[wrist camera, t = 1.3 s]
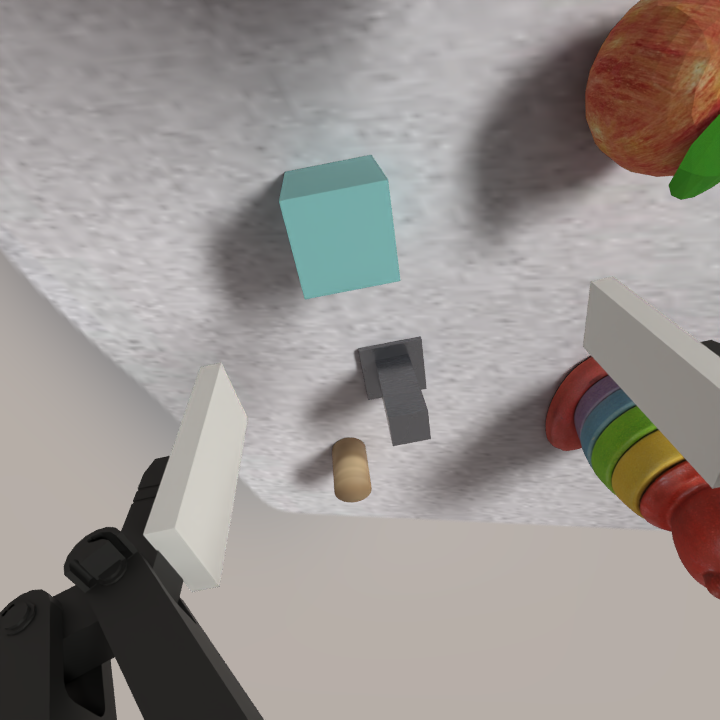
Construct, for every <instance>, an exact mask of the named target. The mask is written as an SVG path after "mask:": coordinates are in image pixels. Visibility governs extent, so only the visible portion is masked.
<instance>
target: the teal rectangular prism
mask: <svg viewBox="0 0 720 720" xmlns="http://www.w3.org/2000/svg"><path fill="white" fill-rule="evenodd" d="M279 203H280V207H281V211H282V215H283V219H284V222H285V226H286V230H287V234H288V238H289V241H290V245H291V249H292V253H293V257H294V260H295V264H296V268H297V272H298V276H299V279H300V283H301V287H302V291H303V295H304V298H305V299H310V298H315V297H320V296H325V295H330V294H336V293H341V292H346V291H351V290H356V289H361V288H366V287H372V286H377V285H382V284H387V283H392V282H397V281H400V274H399V266H398V257H397V249H396V241H395V233H394V225H393V216H392V208H391V200H390V192H389V184H388V179H387V177H386V176H385V174H384V173H383V171H382V170H381V168H380V167H379V165H378V164H377V163H376V161H375V160H374V158H373V157H372V155H368V156H363V157H358V158H353V159H348V160H343V161H338V162H332V163H327V164H322V165H317V166H312V167H307V168H302V169H297V170H292V171H287V172H285V174H284V179H283V184H282V189H281V193H280V198H279Z"/></svg>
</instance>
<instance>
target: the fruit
mask: <svg viewBox="0 0 720 720" xmlns="http://www.w3.org/2000/svg"><path fill="white" fill-rule="evenodd" d="M585 108H586V120H587V123H588V125H589V128H590V131H591V133H592V136H593V139H594V141H595V144H596V145H597V146H598V148H599V149H600V150H601V151H602V152H603V153H604V154H606V155H607V156H608V157H610V158H611V159H612V160H613V161H615V162H616V163H617V164H618V165H620V166H621V167H623V168H625V169H627V170H629V171H630V172H635V173H640V174H645V175H651V176H656V177H660V176H673V178H672V180H671V182H670V183H669V188H670V192H671V195H672V196H674V197H676V198H678V199H680V200H682V199H687V198H692V197H695V196H697V195H699V194H701V193H703V192H704V191H706V190H708V189H710V188H712V187H713V186H715V185H716V184H718V183H719V182H720V0H640V1H639V2H638V3H637V4H636V5H634V6H633V7H632V8H631V9H630V10H629V11H628V12H627V13H626V14H625V15H624V17H623V18H622V19H621V20H620V21H619V22H618V23H617V24H616V26H615V27H614V28H613V29H612V30H611V31H610V33H609V35H608V36H607V38H606V39H605V41H604V43H603V44H602V46H601V48H600V50H599V52H598V54H597V56H596V59H595V61H594V63H593V65H592V67H591V69H590V72H589V77H588V82H587V87H586V91H585Z"/></svg>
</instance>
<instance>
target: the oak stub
mask: <svg viewBox="0 0 720 720" xmlns="http://www.w3.org/2000/svg"><path fill="white" fill-rule="evenodd" d="M332 459H333V475H334V491H335V495H336V497H337V498H338V499H340V500H342V501H344V502H358V501H361V500H363V499H365V498H366V497H368V496H369V494H370V493H371V482H370V475H369V468H368V461H367V455H366V448H365V445H364V443H363V442H362V441H361V440H359V439H356V438H344V439H341V440H339V441H337V442H336V443H335V444H334V446H333V448H332Z"/></svg>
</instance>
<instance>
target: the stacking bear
mask: <svg viewBox="0 0 720 720" xmlns="http://www.w3.org/2000/svg"><path fill="white" fill-rule="evenodd" d="M546 435H547V439H548V441H549V442H550V443H551V444H552V445H553V446H554V447H556V448H559V449H561V450H563V451H570V450H575V449H580V448H582V449H583V452H584V454H585V456H586V458H587V460H588V462H589V464H590V466H591V467H592V469H593V470H594V472H595V474H596V475H597V476H598V478H599V479H600V480H601V481H602V482H603V483H604V484H605V486H606V487H607V488H608V489H609V490H610V491H611V492H612V493H614V494H615V495H617V497H618V498H619V499H620V500H621V501H622V502H623V503H624V504H625V505H626V506H628V507H629V508H630V509H631V510H632V511H633V512H635V513H636V514H637V515H639V516H640V517H642V518H644V519H645V520H646V521H647V522H649V523H650V524H652V525H654V526H656V527H658V528H661V529H664V530H667V531H672V535H673V540H674V544H675V547H676V550H677V552H678V555H679V557H680V559H681V561H682V563H683V565H684V566H685V568H686V569H687V571H688V572H689V573H690V575H691V576H692V577H693V578H694V579H695V580H696V581H697V582H699V583H700V584H702V585H703V586H704V587H706V588H707V589H708V591H709V592H710V593H711V594H712V595H713V596H715V597H716V598H718V599H720V487H718V488H713V489H712V487H711V486H710V485H709V484H708V483H707V482H706V481H705V480H704V479H703V478H702V476H701V475H700V474H699V473H698V472H697V471H696V470H695V469H694V468H693V467H692V466H691V464H690V463H689V462H688V461H687V460H686V459H685V458H684V457H683V456H682V455H681V453H680V452H679V451H678V450H677V449H676V448H675V447H674V446H673V445H672V444H671V442H670V441H669V440H668V439H667V438H666V437H665V436H664V435H663V434H662V433H661V432H660V430H659V429H658V428H657V427H656V426H655V425H654V424H653V423H652V422H651V421H650V419H649V418H648V417H647V416H646V415H645V414H644V413H643V412H642V411H641V410H640V409H639V407H638V406H637V405H636V404H635V403H634V402H633V401H632V400H631V399H630V398H629V396H628V395H627V394H626V393H625V392H624V391H623V390H622V389H621V388H620V387H619V386H618V384H617V383H616V382H615V381H614V380H613V379H612V378H611V377H610V376H609V375H608V373H607V372H606V371H605V370H604V369H603V368H602V367H601V366H600V365H599V364H598V362H597V361H596V360H595V359H594V358H593V357H591V358H589V359H587V360H586V361H584V362H583V363H581V364H580V365H578V366H577V367H576V368H575V369H574V370H573V371H572V372H571V373H570V374H569V375H568V376H567V377H566V378H565V380H564V381H563V383H562V384H561V385H560V387H559V388H558V390H557V392H556V394H555V395H554V397H553V399H552V402H551V404H550V407H549V410H548V413H547V417H546Z"/></svg>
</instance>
